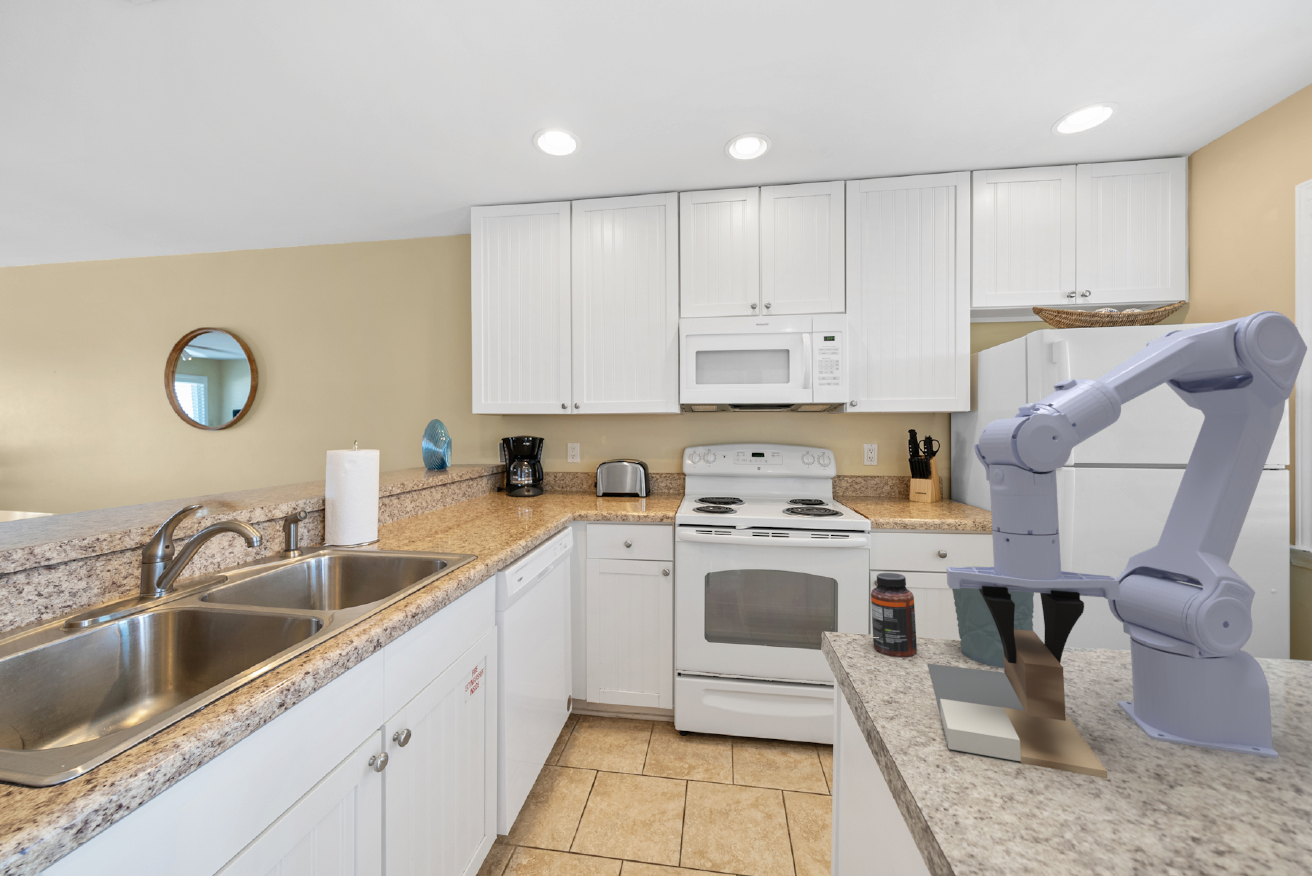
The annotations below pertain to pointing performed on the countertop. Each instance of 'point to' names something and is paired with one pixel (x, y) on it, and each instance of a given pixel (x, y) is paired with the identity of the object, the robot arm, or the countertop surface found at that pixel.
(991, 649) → the teal textured planter
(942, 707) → the tile
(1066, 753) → the trivet
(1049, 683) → the brown rectangular block
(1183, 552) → the robot arm
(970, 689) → the mat
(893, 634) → the supplement bottle
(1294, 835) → the countertop surface
